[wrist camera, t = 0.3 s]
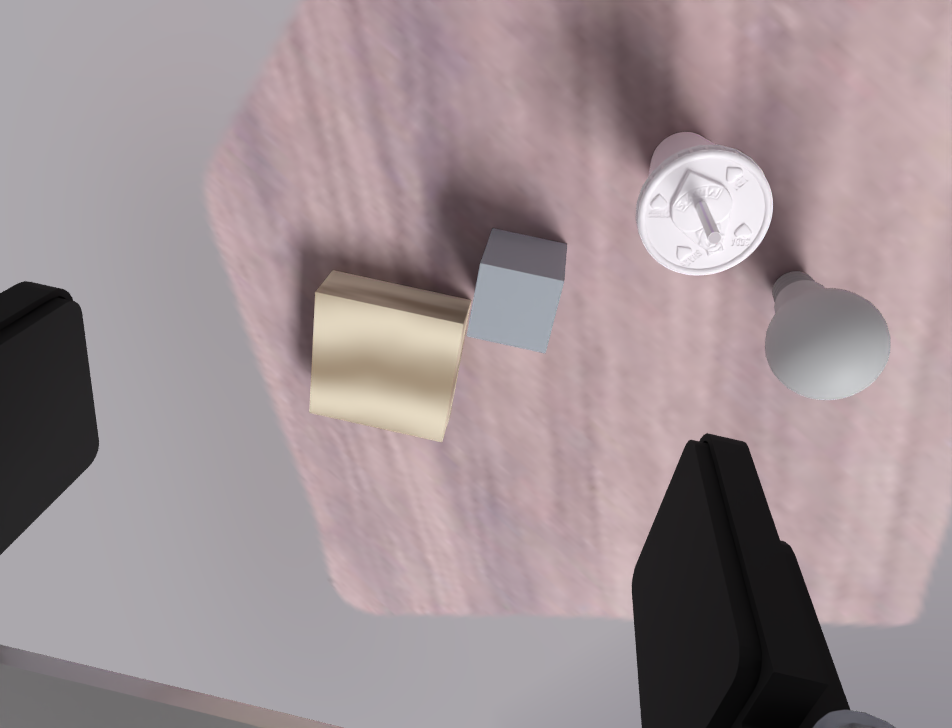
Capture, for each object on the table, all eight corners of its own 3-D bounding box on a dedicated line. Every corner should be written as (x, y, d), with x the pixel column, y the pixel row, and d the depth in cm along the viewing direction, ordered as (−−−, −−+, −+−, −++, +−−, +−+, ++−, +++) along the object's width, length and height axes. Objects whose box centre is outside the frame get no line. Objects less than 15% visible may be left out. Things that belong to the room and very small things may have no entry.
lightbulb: (859, 252, 43) (934, 337, 34) (814, 336, 46) (870, 434, 37) (763, 228, 43) (811, 306, 34) (725, 313, 46) (758, 406, 37)
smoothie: (721, 88, 39) (777, 150, 27) (750, 191, 42) (813, 287, 30) (612, 135, 41) (621, 210, 30) (647, 230, 44) (667, 334, 32)
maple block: (334, 268, 49) (315, 291, 46) (472, 298, 49) (463, 324, 45) (326, 383, 54) (309, 412, 51) (451, 411, 54) (442, 442, 51)
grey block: (492, 227, 46) (480, 263, 41) (567, 243, 45) (564, 281, 40) (479, 295, 48) (466, 336, 43) (550, 310, 48) (545, 353, 43)
